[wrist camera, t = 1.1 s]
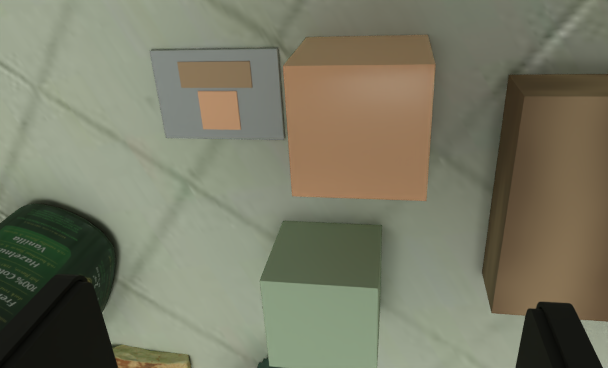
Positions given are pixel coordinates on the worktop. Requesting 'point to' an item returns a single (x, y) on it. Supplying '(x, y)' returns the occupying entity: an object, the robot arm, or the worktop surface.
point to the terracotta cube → (360, 116)
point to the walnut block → (551, 197)
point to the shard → (148, 358)
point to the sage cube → (323, 295)
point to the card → (220, 93)
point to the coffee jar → (49, 255)
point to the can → (266, 364)
